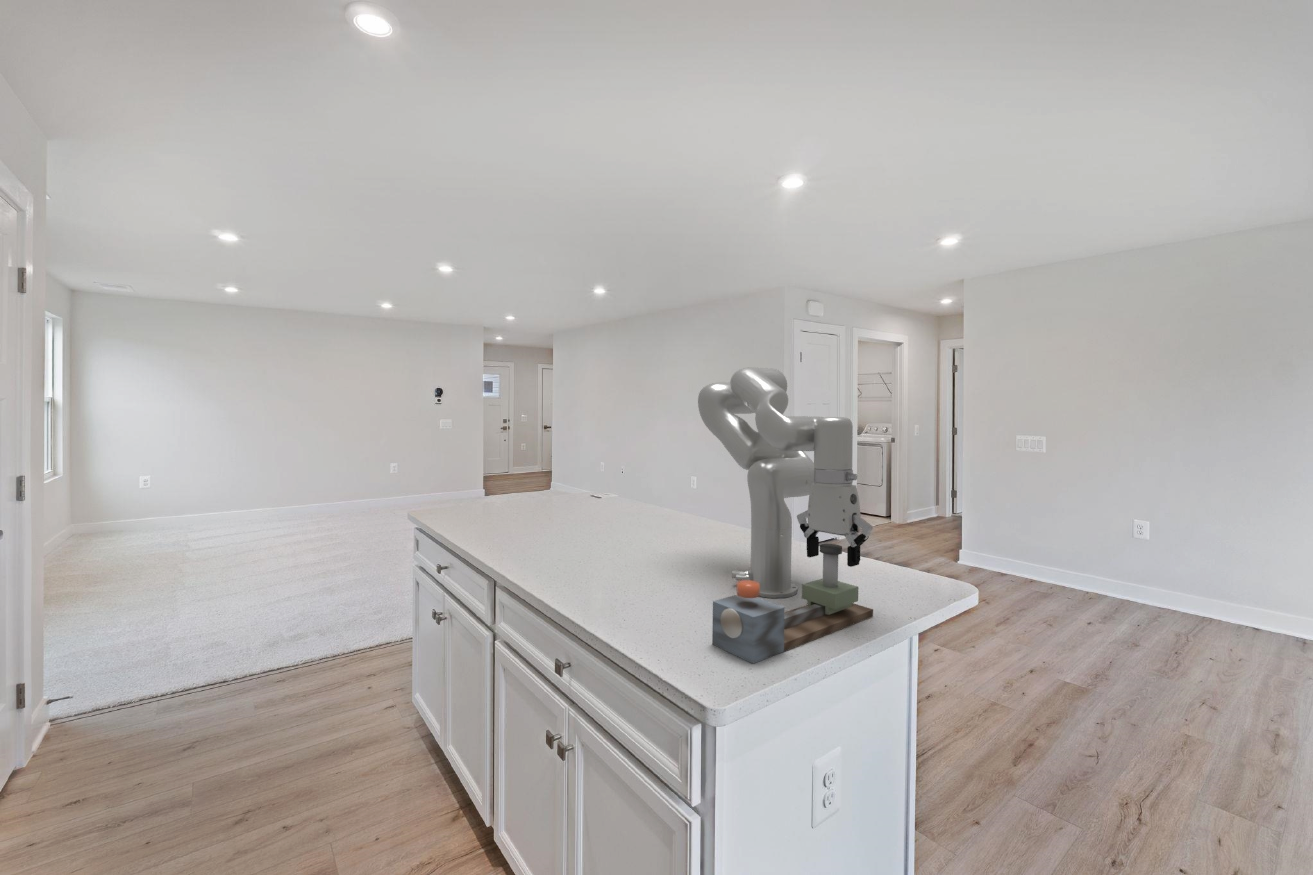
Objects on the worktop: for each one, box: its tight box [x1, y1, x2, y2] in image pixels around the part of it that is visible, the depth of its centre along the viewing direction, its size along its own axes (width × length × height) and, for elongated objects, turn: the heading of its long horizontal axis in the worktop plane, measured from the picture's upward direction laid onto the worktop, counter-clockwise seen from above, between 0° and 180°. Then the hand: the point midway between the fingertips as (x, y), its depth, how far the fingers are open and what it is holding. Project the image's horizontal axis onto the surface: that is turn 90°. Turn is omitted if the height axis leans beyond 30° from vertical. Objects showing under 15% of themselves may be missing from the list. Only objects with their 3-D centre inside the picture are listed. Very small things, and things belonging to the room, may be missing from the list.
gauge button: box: [736, 580, 760, 598], centre depth 102 cm, size 4×4×2 cm
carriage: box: [801, 543, 859, 615], centre depth 117 cm, size 8×8×13 cm
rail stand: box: [711, 594, 874, 664], centre depth 111 cm, size 37×10×8 cm, turn 128°
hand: (832, 560), depth 117 cm, fingers open, 9 cm apart
